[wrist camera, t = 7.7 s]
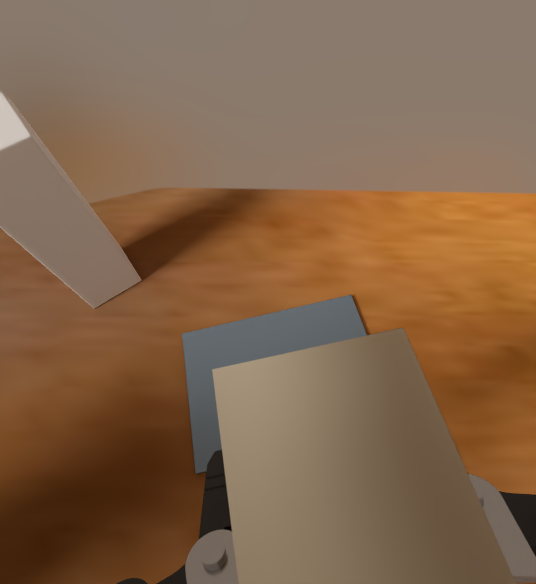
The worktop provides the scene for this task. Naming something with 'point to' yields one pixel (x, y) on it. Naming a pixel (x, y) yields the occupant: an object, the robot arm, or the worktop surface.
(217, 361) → the rubber mat
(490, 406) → the worktop surface
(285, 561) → the birch block
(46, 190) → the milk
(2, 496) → the worktop surface
